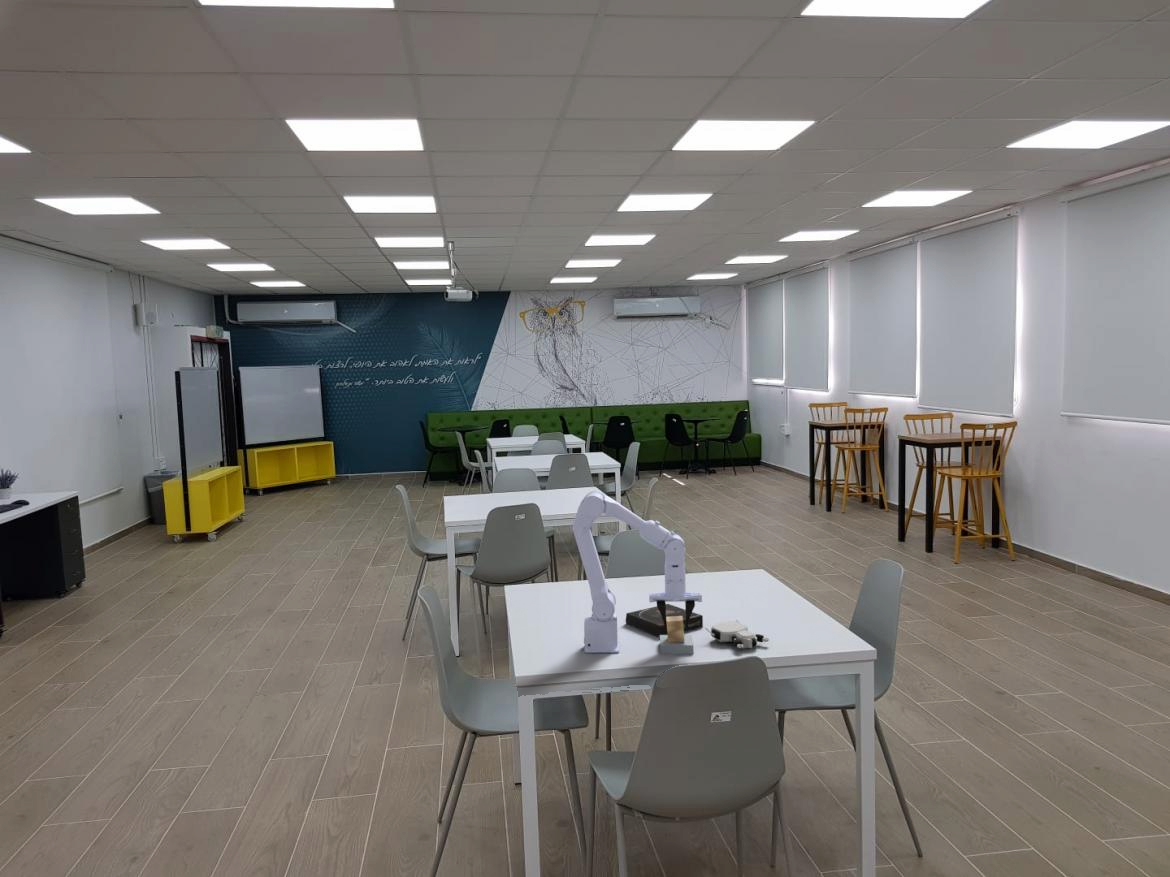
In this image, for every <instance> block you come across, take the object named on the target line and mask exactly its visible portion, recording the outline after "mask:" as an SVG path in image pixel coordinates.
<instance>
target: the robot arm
mask: <svg viewBox="0 0 1170 877" xmlns="http://www.w3.org/2000/svg"><path fill="white" fill-rule="evenodd" d="M603 514H604V515H603ZM601 516H604V518H612V517H613V518H616V519H618V520H620V521H621V522H623V523H625V524H627V525H628V526H630V527H631V528H633V529H635V530H636V531H638V532H639V536H640V538H641V539H642V540H644V541H646V542H647V543H649V544H651V546H654V547H655V548H656V549H658V550H662V551H664V554H665V556H664V557H665V562H664V592H662V593H661V592H658V593H649V603H656V606H657V607H658V609H659V611H660V613H661V616H662V619H663V622H664V628H667V622H666V604H667V602H668V603H669V602H673V603H674V602H676V603H677V602H684V603H685V605H684V607H685V608H684V609H685V610H686V615H685V627H686V628H688V624H689V619H690V616H691V613H692V612H694V609H695V606H696V603H695V602H698V603H702V602H703V595H702V593H697V592H687V591H686V584H687V583H686V562H685V560H686V558H685V554H686V552H687V548H686V546H685V545H686V544H685V542H684V541H685V540H684V539H683V538H682V537H681V536H680V535H679V534H677V533H675V532H674V531H673V530H670V531H669V530H668V529H666V528H665V527H664V526H662V525H660V524H661V522H660V521H658V520H655V521H654V520H653V519H649V520H644V519H643V518H641V517H640V516H638V515H637V514H635V513H634V512H633V511H631V510H630V509H628V508H627V507H625V506H623V505H622V504H621V503H619V501H617V500H615V499H613V498H611V497H609V496H607V495H604V494H603V493H601V492H600V491H597V490H596V491H595V490H594V491H589V492H588V493H587V494H586V495H585V496H584V497H583V499H582V500H581V501H580V504H579V506H578V508H577V511H576V515H575V517H574V520H573V523H572V531H573V535H574V538H575V541H576V545H577V548H578V551H579V555H580V559H581V561H582V562H581V563H582V564H583V569H584V571H585V575H586V578H587V583H588V585H589V589H590V591H589V592H590V598H591V601H592V605H591V612H592V614H591V616H589V617H584V622H583V625H584V626H583V631H584V634H583V635H584V637H583V644H584V653H589V654H591V653H592V654H593V653H596V654H597V653H600V654H601V653H604V654H605V653H611V654H612V653H617V654H618V653H619V652H620V645H621V644H620V641H619V640H618V637H619V636H618V614H617V613H616V612H615V611H616V610H615V607H616V602H617V601H616V597H615V595H614V593H613V592H612V591H611V590H610V588H609V584H608V582H607V581H606V577H605V573H604V570H603V568H602V564H601V560H600V557H599V554H598V550H597V547H596V544H595V540H594V537H593V533H592V530H591V527H592V526H593V524H594V523H595V521H596V520H598V519H599V518H600V517H601Z"/></svg>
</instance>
